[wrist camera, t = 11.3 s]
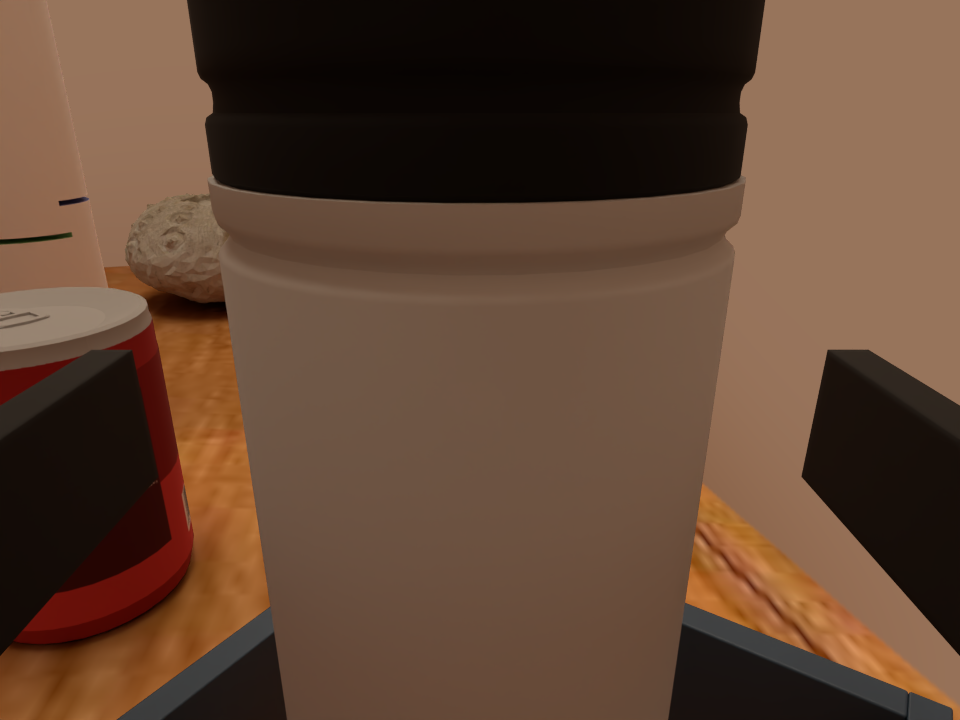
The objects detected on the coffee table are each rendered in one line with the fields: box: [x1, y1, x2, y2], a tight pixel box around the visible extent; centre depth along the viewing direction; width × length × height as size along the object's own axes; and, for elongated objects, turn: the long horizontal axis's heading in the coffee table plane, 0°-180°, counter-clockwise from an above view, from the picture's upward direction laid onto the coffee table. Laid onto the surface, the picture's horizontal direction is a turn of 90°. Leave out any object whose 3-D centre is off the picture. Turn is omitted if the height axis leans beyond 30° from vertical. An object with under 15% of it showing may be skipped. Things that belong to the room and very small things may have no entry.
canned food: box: [0, 287, 194, 644], centre depth 24 cm, size 8×8×11 cm
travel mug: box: [187, 0, 765, 720], centre depth 10 cm, size 6×7×20 cm
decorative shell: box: [125, 194, 229, 303], centre depth 64 cm, size 18×18×10 cm
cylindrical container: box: [0, 0, 108, 293], centre depth 37 cm, size 7×7×25 cm
